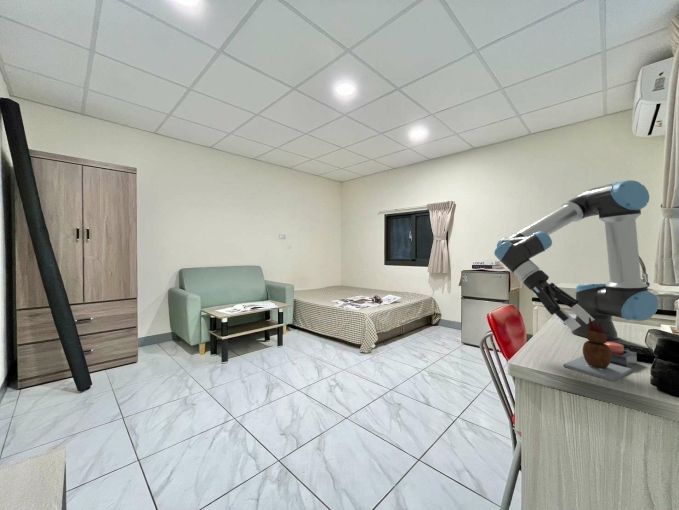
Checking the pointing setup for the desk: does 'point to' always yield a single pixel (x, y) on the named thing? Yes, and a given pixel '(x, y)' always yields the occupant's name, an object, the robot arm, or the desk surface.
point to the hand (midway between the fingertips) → (584, 325)
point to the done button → (615, 348)
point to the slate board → (598, 369)
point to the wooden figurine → (596, 347)
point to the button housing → (624, 359)
